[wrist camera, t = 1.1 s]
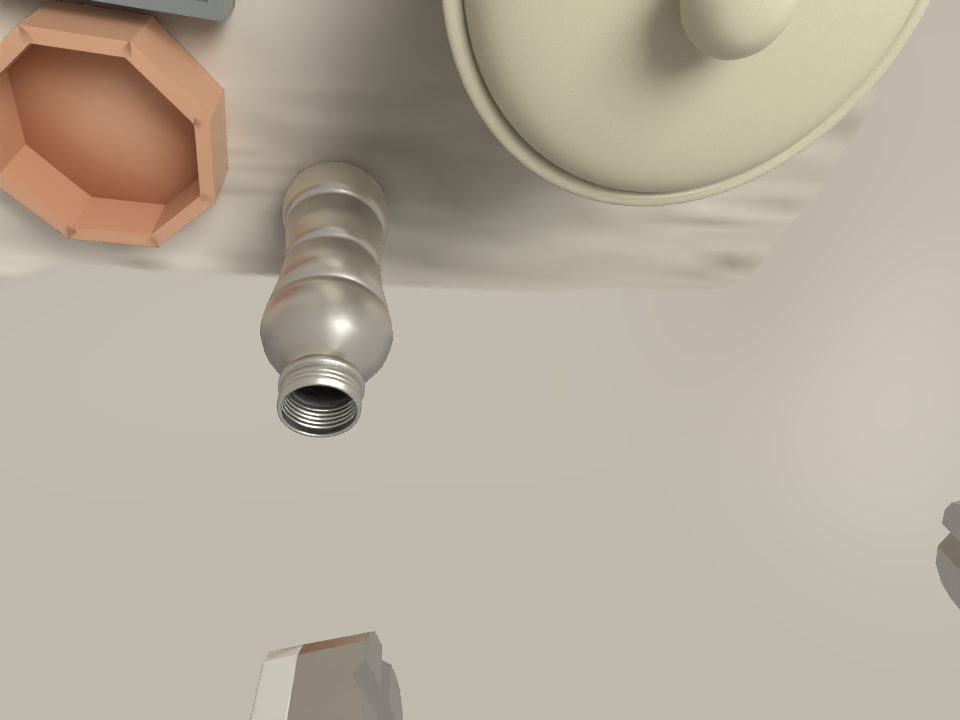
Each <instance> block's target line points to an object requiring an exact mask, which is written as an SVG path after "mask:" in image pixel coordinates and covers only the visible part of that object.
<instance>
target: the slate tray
mask: <svg viewBox="0 0 960 720" xmlns="http://www.w3.org/2000/svg"><path fill="white" fill-rule="evenodd" d="M93 1H99V2H105V3H111V4H117V5H123V6H129V7H135V8H141V9H147V10H153V11H160V12H166V13H172V14H178V15H184V16H190V17H196V18H202V19H208V20H214V21H220V22H226V20H227V19H228V17H229V15H230V13H231V12H232V10H233V8H234V6H235V2H234V0H93Z"/></svg>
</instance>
